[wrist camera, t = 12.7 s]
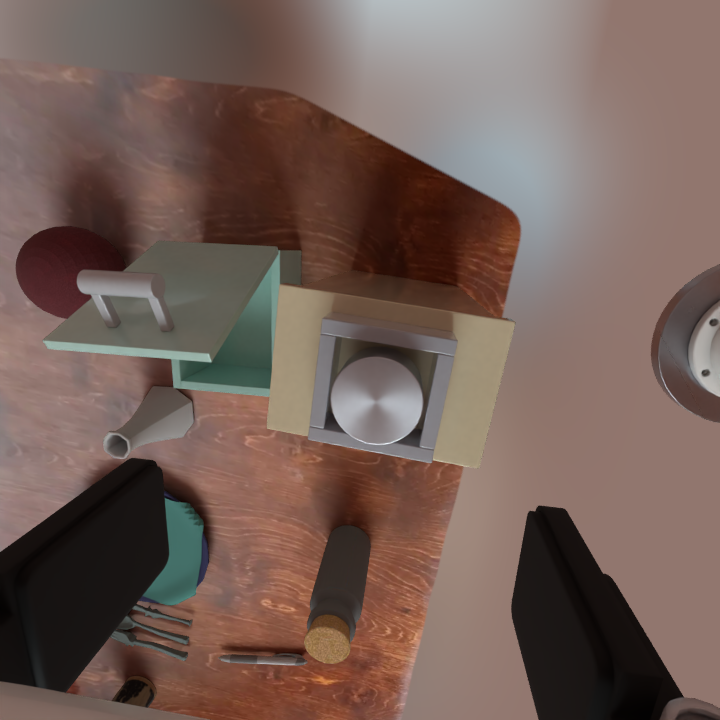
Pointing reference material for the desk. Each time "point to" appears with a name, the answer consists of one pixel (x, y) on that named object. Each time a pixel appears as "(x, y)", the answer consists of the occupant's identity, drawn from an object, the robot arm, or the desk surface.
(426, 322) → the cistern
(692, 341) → the robot arm
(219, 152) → the desk surface
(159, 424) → the flask
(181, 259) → the pale green box lid
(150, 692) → the mug
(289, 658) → the pen
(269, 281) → the bowl box
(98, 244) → the decorative ball
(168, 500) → the cutlery set
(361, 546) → the bottle
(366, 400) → the flush button
